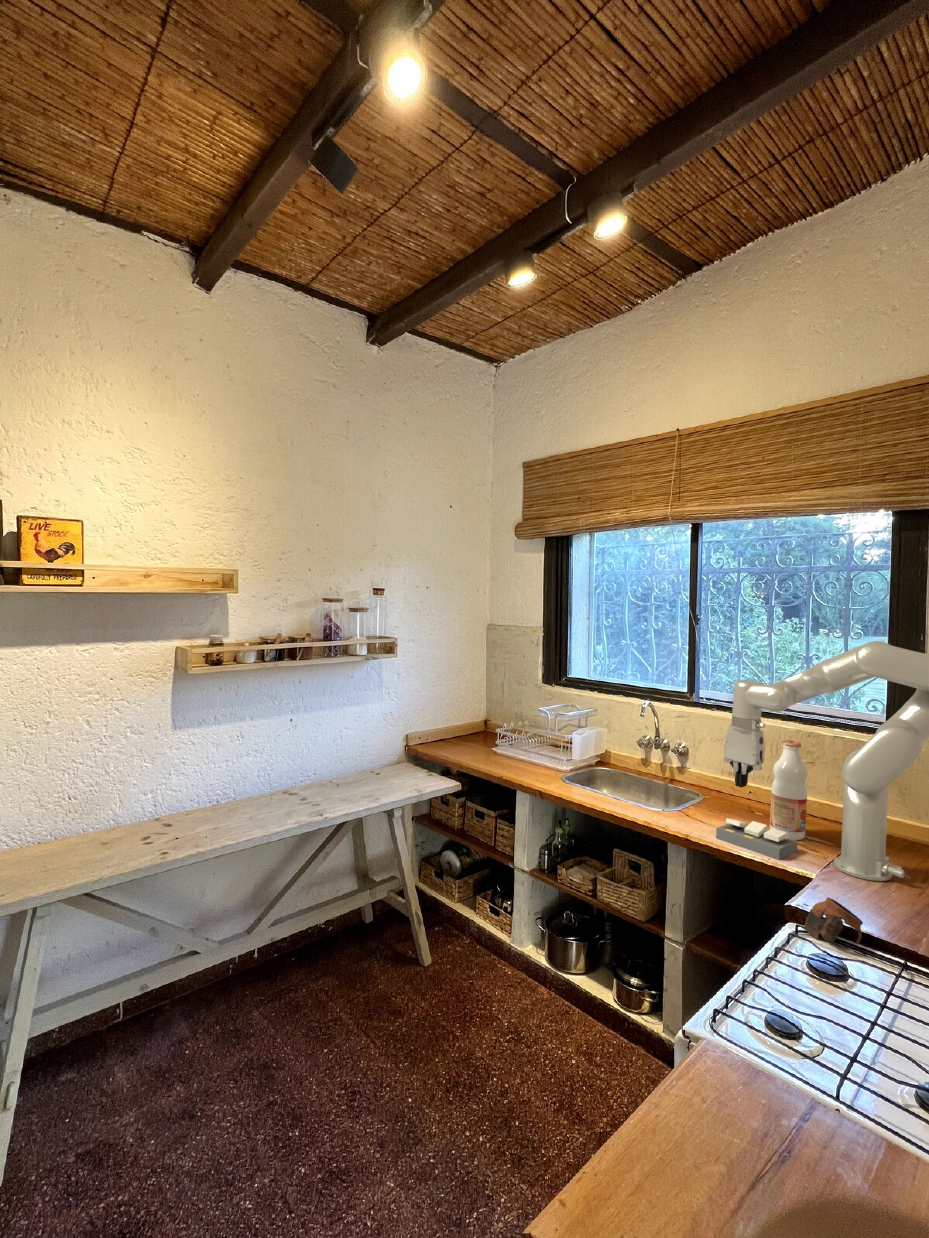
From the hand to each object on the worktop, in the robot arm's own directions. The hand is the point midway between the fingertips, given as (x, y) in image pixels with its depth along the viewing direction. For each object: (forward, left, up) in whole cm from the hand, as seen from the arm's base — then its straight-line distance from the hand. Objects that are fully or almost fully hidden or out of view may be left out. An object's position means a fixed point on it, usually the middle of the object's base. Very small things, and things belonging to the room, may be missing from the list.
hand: (740, 785), depth 172 cm
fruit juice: (-6, -17, -16) cm, 24 cm away
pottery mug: (-38, +34, -16) cm, 53 cm away
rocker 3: (-10, -1, -11) cm, 15 cm away
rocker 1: (+1, -1, -11) cm, 12 cm away
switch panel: (-4, -1, -16) cm, 17 cm away
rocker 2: (-4, -1, -11) cm, 12 cm away
